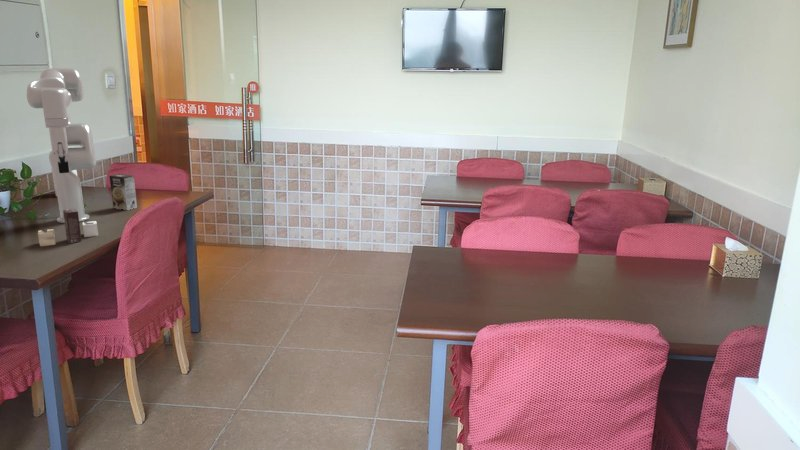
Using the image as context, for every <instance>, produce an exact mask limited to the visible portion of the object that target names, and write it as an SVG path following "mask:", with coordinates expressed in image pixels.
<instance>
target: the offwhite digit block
mask: <svg viewBox="0 0 800 450" xmlns="http://www.w3.org/2000/svg"><path fill="white" fill-rule="evenodd" d="M81 222H82V229H83V237H84V238H90V237H98V236H99V231H98V223H97V221H96V220H92V221H81Z"/></svg>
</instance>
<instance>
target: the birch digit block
mask: <svg viewBox="0 0 800 450" xmlns="http://www.w3.org/2000/svg"><path fill="white" fill-rule="evenodd" d="M37 232H38V233H37V237H38V242H39V247H46V246H54V245H56V235H55V230H54V228H53V229H52V228H51V229H41V230H38V231H37Z"/></svg>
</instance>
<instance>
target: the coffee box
mask: <svg viewBox="0 0 800 450" xmlns="http://www.w3.org/2000/svg"><path fill="white" fill-rule="evenodd" d="M134 176H135V175H134V174H133V175H132V174H124V173H117V174H111V175H109V183H110V190H111V199H112V205H113V206H112V207H113V209H114V208H116V209H115V210H121V209H123V210H122V211H130V209H131V210H134V209H137V208H138V203H137V195H136V193H137V192H136V186H135V185H136V184H135V177H134ZM133 208H134V209H133Z"/></svg>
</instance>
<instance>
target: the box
mask: <svg viewBox="0 0 800 450" xmlns="http://www.w3.org/2000/svg"><path fill="white" fill-rule="evenodd" d="M63 213H64V221H65V223H64V228H65V235H66V236H65V237H66V240H67V242H68V243H70V244H71V243H72V244H75V243H78V242H82V232H81V225H80V222H79V216H78V211H77V210H75V209H69V210H63Z"/></svg>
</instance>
